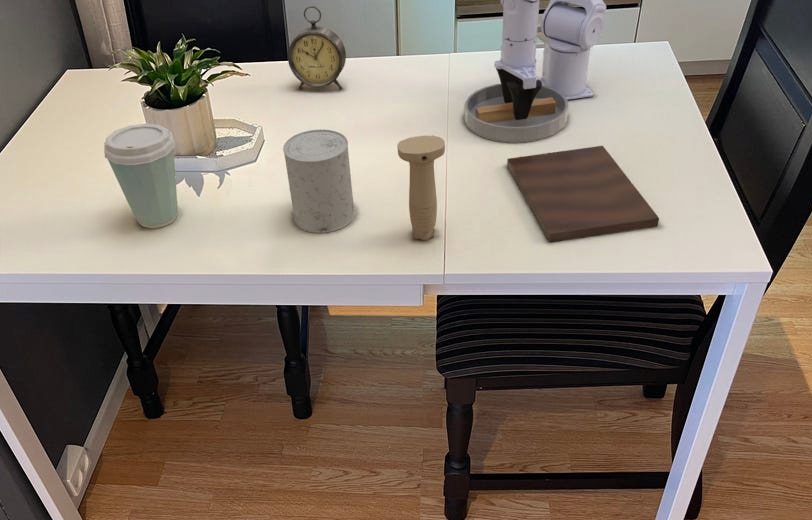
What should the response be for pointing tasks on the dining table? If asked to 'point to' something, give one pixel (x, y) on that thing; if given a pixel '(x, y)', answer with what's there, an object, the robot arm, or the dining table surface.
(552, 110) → the stick
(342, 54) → the alarm clock
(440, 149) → the handle
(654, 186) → the dining table surface
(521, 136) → the tin
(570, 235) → the board
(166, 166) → the disposable coffee cup
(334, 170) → the grey mottled cylinder
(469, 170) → the dining table surface
